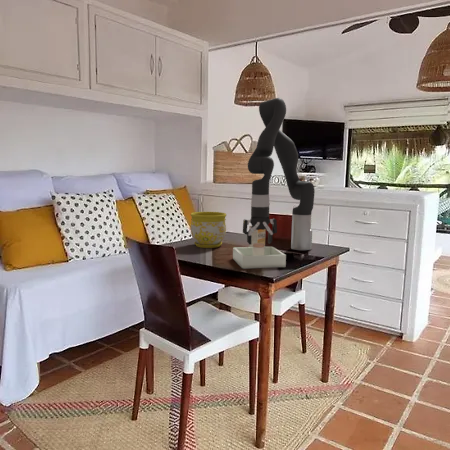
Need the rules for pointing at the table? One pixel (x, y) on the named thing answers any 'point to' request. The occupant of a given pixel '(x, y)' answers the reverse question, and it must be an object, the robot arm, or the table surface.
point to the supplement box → (257, 237)
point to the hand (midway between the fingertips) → (259, 243)
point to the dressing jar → (258, 249)
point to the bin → (259, 258)
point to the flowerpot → (208, 228)
